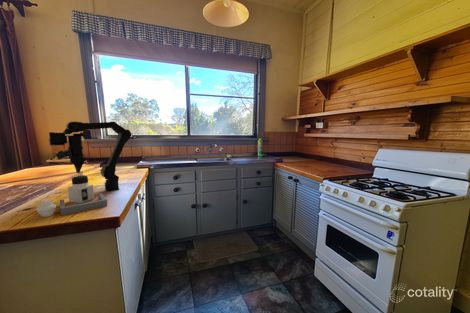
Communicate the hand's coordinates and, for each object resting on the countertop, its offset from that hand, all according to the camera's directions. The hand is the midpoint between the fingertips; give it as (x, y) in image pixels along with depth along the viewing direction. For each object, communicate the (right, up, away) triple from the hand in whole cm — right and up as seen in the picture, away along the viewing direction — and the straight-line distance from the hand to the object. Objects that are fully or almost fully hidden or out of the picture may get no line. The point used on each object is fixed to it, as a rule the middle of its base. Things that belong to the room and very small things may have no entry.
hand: (78, 172), depth 108 cm
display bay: (+13, -15, -13) cm, 23 cm away
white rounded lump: (+6, -17, -24) cm, 30 cm away
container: (+6, -14, -5) cm, 16 cm away
